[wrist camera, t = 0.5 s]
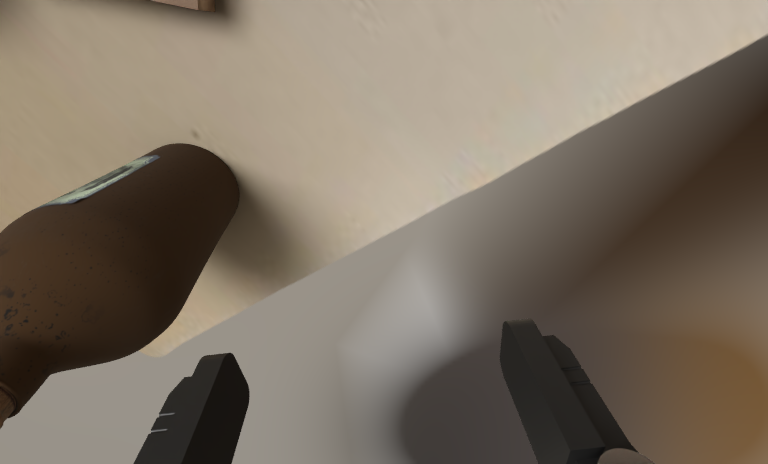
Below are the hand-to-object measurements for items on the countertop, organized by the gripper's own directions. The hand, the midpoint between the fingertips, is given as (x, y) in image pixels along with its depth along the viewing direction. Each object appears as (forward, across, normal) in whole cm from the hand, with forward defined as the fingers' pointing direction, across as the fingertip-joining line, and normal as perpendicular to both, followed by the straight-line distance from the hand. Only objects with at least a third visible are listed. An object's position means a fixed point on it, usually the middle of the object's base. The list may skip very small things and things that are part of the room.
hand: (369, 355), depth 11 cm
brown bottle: (+27, +18, +4) cm, 33 cm away
